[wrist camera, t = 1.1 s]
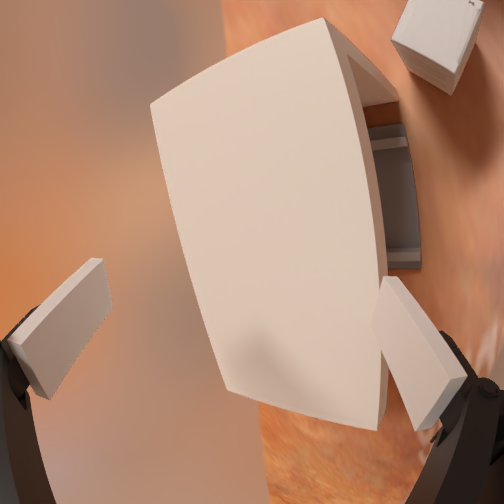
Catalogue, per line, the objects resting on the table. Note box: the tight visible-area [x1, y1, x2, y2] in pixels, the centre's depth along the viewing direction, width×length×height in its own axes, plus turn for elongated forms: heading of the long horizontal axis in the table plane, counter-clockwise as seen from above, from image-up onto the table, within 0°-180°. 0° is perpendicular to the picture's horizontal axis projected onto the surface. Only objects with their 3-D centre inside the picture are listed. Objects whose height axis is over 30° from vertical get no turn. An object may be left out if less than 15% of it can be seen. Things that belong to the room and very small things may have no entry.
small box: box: [391, 0, 484, 96], centre depth 16 cm, size 8×6×10 cm
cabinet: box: [150, 17, 422, 431], centre depth 25 cm, size 14×24×20 cm, turn 15°
